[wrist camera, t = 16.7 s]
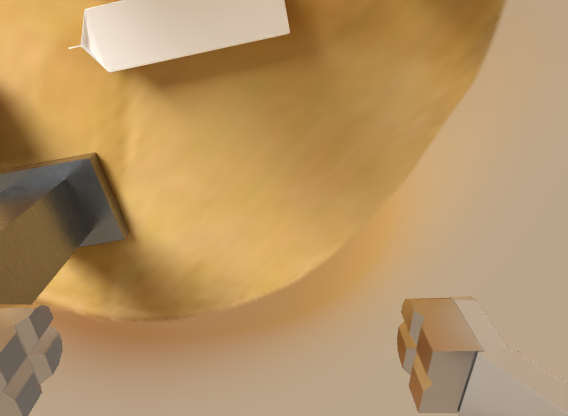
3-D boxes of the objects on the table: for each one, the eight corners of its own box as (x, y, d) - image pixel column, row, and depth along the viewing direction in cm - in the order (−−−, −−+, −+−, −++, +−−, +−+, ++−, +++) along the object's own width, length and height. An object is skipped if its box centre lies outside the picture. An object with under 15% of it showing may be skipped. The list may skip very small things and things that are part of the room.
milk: (278, -32, 41) (80, 13, 43) (278, -37, 36) (51, 14, 37) (289, 31, 44) (102, 70, 46) (290, 35, 38) (79, 79, 40)
